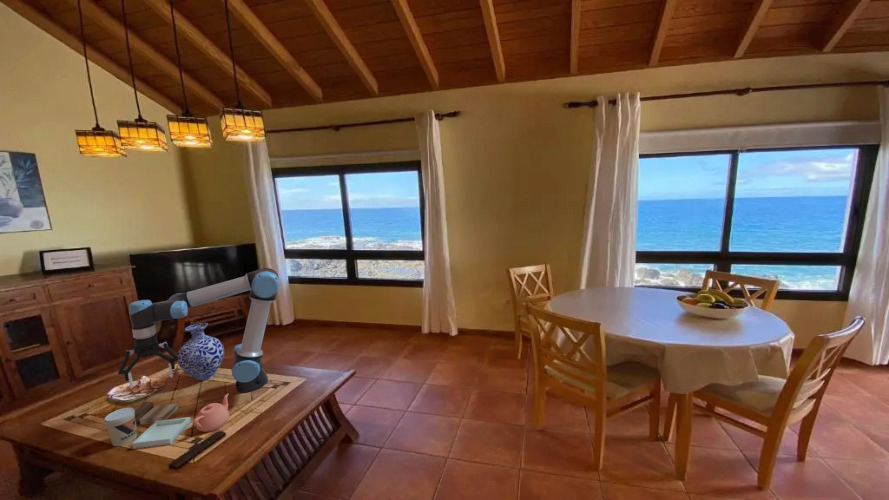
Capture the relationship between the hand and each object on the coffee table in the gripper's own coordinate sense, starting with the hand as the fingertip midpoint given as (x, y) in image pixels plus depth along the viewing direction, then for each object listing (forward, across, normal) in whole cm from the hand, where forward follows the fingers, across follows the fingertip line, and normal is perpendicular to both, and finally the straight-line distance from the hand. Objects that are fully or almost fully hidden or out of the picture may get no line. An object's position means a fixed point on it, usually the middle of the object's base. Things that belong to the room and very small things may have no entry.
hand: (152, 381), depth 153 cm
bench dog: (+20, +6, -9) cm, 23 cm away
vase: (+20, -20, -35) cm, 44 cm away
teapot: (+19, -20, +19) cm, 34 cm away
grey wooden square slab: (+20, 0, -6) cm, 21 cm away
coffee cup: (+20, +11, +5) cm, 24 cm away
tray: (+20, -2, +13) cm, 23 cm away
